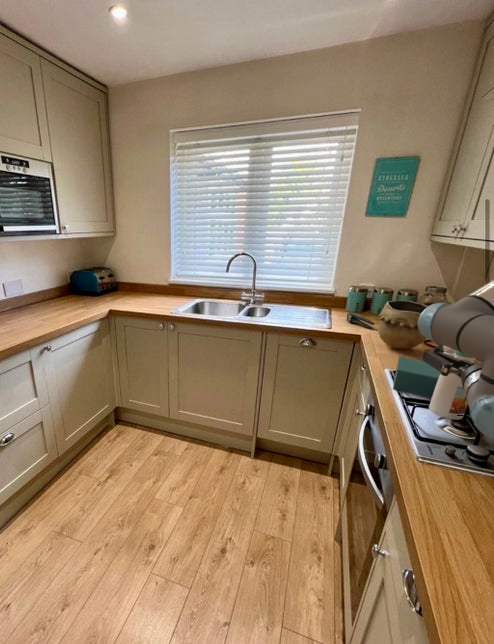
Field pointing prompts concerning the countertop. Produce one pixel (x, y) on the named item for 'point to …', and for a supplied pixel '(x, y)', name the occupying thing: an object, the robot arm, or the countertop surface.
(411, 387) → the storage box
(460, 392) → the milk bottle
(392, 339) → the clay pot
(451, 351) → the pill bottle
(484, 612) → the countertop surface
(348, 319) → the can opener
